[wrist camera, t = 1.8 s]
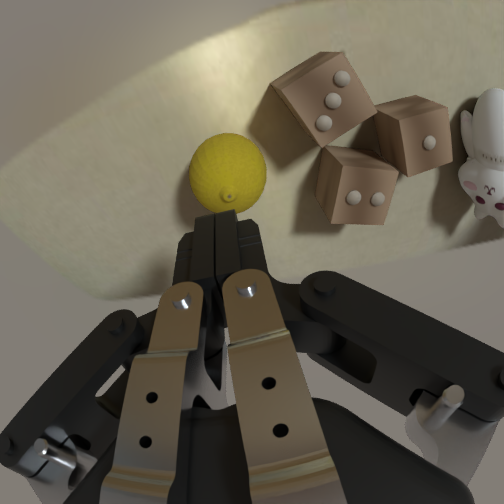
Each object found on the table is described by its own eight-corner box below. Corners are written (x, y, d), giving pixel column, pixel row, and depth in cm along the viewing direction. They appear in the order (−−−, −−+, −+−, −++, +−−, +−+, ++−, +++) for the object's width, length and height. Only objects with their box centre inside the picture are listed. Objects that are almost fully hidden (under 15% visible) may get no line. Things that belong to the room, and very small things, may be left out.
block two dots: (372, 150, 25) (400, 172, 21) (361, 197, 28) (384, 226, 24) (322, 144, 25) (343, 166, 20) (314, 195, 28) (331, 225, 24)
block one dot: (414, 94, 22) (449, 107, 18) (422, 142, 25) (453, 162, 21) (370, 106, 23) (400, 120, 18) (381, 155, 26) (409, 178, 21)
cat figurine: (541, 99, 12) (524, 254, 20) (542, 96, 16) (532, 223, 23) (449, 83, 20) (449, 225, 27) (468, 83, 23) (469, 201, 31)
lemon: (253, 187, 26) (265, 238, 20) (190, 181, 26) (180, 231, 19) (265, 127, 23) (283, 160, 17) (197, 119, 22) (186, 148, 16)
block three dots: (320, 51, 20) (343, 52, 15) (351, 100, 22) (378, 112, 18) (269, 83, 21) (281, 90, 17) (304, 130, 24) (322, 148, 20)
